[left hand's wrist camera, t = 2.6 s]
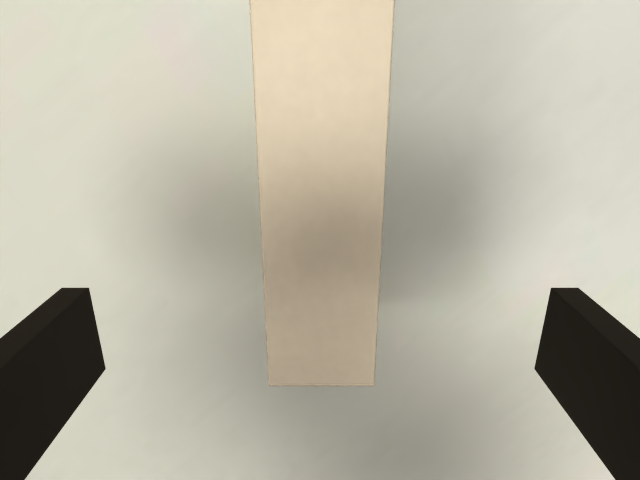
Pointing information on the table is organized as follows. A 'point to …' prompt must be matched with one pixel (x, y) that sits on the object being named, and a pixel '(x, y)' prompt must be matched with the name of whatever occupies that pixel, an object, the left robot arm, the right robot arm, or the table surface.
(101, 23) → the table surface
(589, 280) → the table surface
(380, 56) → the beam
